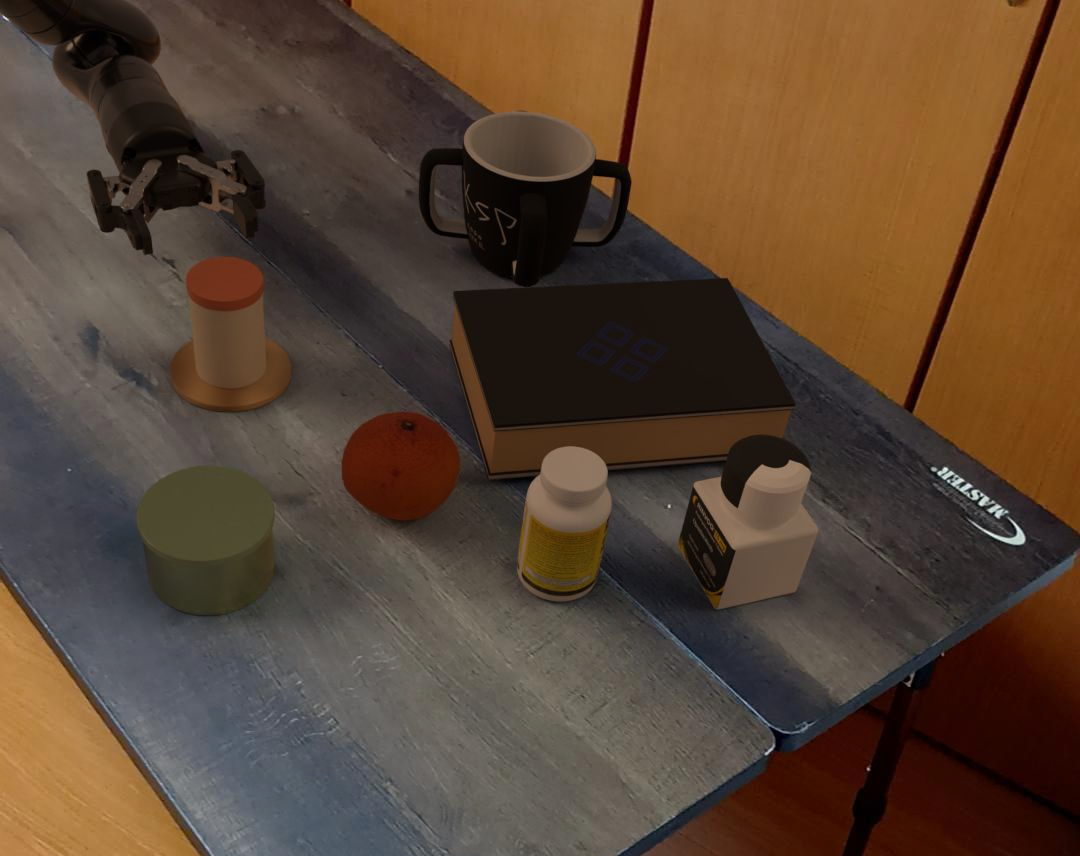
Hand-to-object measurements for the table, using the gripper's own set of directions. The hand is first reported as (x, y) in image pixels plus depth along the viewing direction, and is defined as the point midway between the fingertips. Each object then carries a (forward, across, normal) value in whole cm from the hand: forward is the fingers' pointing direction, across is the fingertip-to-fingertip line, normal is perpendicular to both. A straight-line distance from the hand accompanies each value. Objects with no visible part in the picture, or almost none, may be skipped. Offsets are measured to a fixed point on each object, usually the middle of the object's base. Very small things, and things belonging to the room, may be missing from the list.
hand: (200, 237), depth 110 cm
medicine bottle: (+42, +30, +9) cm, 52 cm away
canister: (+7, 0, +8) cm, 11 cm away
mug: (-2, +31, +9) cm, 32 cm away
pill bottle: (+37, +16, +9) cm, 42 cm away
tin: (+28, -8, +9) cm, 30 cm away
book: (+21, +29, +9) cm, 37 cm away
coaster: (+7, 0, +9) cm, 11 cm away
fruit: (+26, +8, +9) cm, 28 cm away
